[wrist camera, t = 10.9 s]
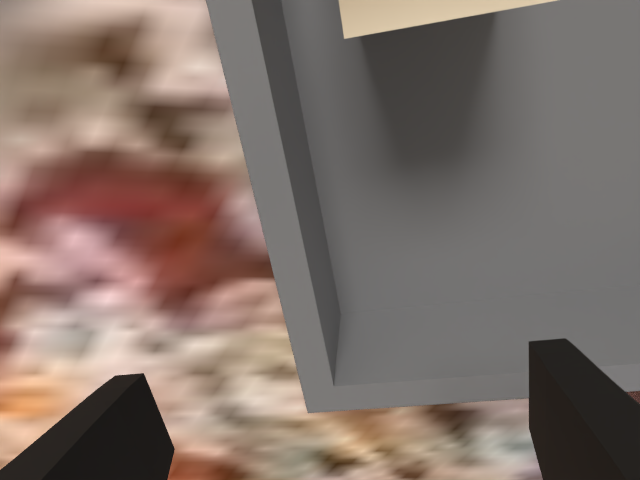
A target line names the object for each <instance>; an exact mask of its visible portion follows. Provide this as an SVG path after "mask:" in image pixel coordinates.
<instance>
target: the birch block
mask: <svg viewBox="0 0 640 480" xmlns="http://www.w3.org/2000/svg"><path fill="white" fill-rule="evenodd" d="M552 1H557V0H339V7H340V13H341V20H342V27H343V34H344V39H346V38H352V37H357V36H363V35H369V34H374V33H380V32H385V31H391V30H396V29H402V28H407V27H413V26H419V25H424V24H430V23H435V22H441V21H446V20H452V19H457V18H463V17H468V16H474V15H480V14H485V13H491V12H496V11H502V10H507V9H513V8H518V7H524V6H530V5H535V4H541V3H546V2H552Z"/></svg>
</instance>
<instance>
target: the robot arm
mask: <svg viewBox="0 0 640 480" xmlns="http://www.w3.org/2000/svg"><path fill="white" fill-rule="evenodd" d="M529 429H530V433H531V437H532V441H533V444H534V448H535V452H536V455H537V459H538V463H539V466H540V470H541V473H542V477H543V480H640V404H639V403H638V402H636V401H635V400H634V399H633V398H632V397H631V396H630V395H628V394H627V393H626V392H625V391H624V390H623V389H622V388H621V387H619V386H618V385H617V384H616V383H615V382H614V381H613V380H612V379H610V378H609V377H608V376H607V375H606V374H605V373H604V372H603V371H602V370H601V369H599V368H598V367H597V366H596V365H595V364H594V363H593V362H592V361H591V360H590V359H589V358H588V357H586V356H585V355H584V354H583V353H582V352H581V351H580V350H579V349H578V348H577V347H576V346H575V345H573V344H572V343H571V342H570V341H569V340H567V339H566V338H562V339H550V340H538V341H529ZM174 450H175V449H174V446H173V444H172V441H171V439H170V437H169V434H168V432H167V429H166V427H165V424H164V422H163V419H162V417H161V414H160V412H159V410H158V407H157V405H156V402H155V400H154V397H153V395H152V392H151V390H150V387H149V385H148V383H147V380H146V378H145V375H144V373H142V374H130V375H118V376H114V377H113V378H112V379H110V380H109V381H107V382H106V383H105V384H103V385H102V386H101V387H100V388H98V389H97V390H96V391H95V392H93V393H92V394H91V395H90V396H88V397H87V398H86V399H85V400H84V401H82V402H81V403H80V404H79V405H78V406H76V407H75V408H74V409H73V410H72V411H70V412H69V413H68V414H67V415H66V416H65V417H63V418H62V419H61V420H60V421H59V422H58V423H56V424H55V425H54V426H53V427H52V428H50V429H49V430H48V431H47V432H46V433H44V434H43V435H42V436H41V437H40V438H38V439H37V440H36V441H35V442H34V443H33V444H31V445H30V446H29V447H28V448H27V449H25V450H24V451H23V452H22V453H21V454H19V455H18V456H17V457H16V458H15V459H13V460H12V461H11V462H10V463H8V464H7V465H6V466H5V467H3V468H2V469H1V470H0V480H167V478H168V474H169V470H170V466H171V462H172V458H173V454H174Z"/></svg>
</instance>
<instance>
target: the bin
mask: <svg viewBox="0 0 640 480" xmlns="http://www.w3.org/2000/svg"><path fill="white" fill-rule="evenodd" d="M206 3H207V7H208V11H209V15H210V19H211V23H212V27H213V31H214V35H215V39H216V43H217V47H218V51H219V55H220V59H221V63H222V67H223V71H224V75H225V80H226V84H227V88H228V92H229V96H230V100H231V104H232V108H233V112H234V116H235V120H236V124H237V128H238V132H239V136H240V140H241V144H242V148H243V152H244V156H245V160H246V164H247V169H248V173H249V177H250V181H251V185H252V189H253V193H254V197H255V201H256V205H257V209H258V213H259V217H260V221H261V225H262V229H263V233H264V237H265V241H266V245H267V249H268V253H269V258H270V262H271V266H272V270H273V274H274V278H275V282H276V286H277V290H278V294H279V298H280V302H281V306H282V310H283V314H284V318H285V322H286V326H287V330H288V334H289V338H290V342H291V347H292V351H293V355H294V359H295V363H296V367H297V371H298V375H299V379H300V383H301V387H302V391H303V395H304V399H305V403H306V407H307V411H308V413H315V412H330V411H345V410H360V409H375V408H390V407H405V406H420V405H435V404H450V403H465V402H479V401H494V400H509V399H524V398H529V341H538V340H550V339H562V338H566V339H567V340H569V341H570V342H571V343H572V344H573V345H575V346H576V347H577V348H578V349H579V350H580V351H581V352H582V353H583V354H584V355H585V356H586V357H588V358H589V359H590V360H591V361H592V362H593V363H594V364H595V365H596V366H597V367H598V368H599V369H601V370H602V371H603V372H604V373H605V374H606V375H607V376H608V377H609V378H610V379H612V380H613V381H614V382H615V383H616V384H617V385H618V386H619V387H621V388H622V389H623V390H624V391H625V392H629V391H640V0H557V1H552V2H546V3H541V4H535V5H530V6H524V7H518V8H513V9H507V10H502V11H496V12H491V13H485V14H480V15H474V16H468V17H463V18H457V19H452V20H446V21H441V22H435V23H430V24H424V25H419V26H413V27H407V28H402V29H396V30H391V31H385V32H380V33H374V34H369V35H363V36H357V37H352V38H346V39H344V34H343V27H342V20H341V13H340V7H339V0H206Z"/></svg>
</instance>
